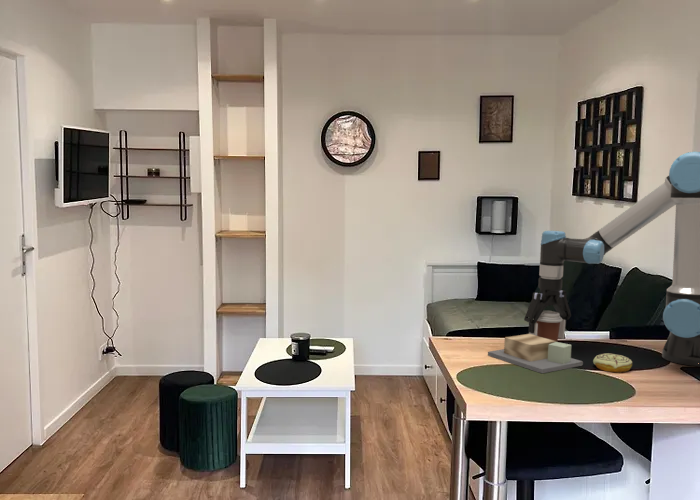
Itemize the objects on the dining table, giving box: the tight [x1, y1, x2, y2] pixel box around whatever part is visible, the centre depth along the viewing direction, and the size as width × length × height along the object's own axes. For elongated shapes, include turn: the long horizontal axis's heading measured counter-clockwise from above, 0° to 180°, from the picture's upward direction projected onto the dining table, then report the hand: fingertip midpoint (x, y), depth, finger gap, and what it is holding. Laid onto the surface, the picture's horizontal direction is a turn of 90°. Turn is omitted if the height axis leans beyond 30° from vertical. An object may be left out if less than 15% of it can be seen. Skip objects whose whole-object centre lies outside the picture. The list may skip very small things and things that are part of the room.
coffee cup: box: [536, 310, 563, 342], centre depth 219 cm, size 9×9×12 cm
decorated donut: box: [592, 352, 633, 373], centre depth 197 cm, size 10×11×4 cm
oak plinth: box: [503, 333, 556, 361], centre depth 205 cm, size 11×11×5 cm
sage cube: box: [548, 342, 572, 364], centre depth 199 cm, size 5×5×5 cm
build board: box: [487, 348, 584, 374], centre depth 204 cm, size 22×18×1 cm
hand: (546, 340), depth 220 cm, fingers open, 13 cm apart
